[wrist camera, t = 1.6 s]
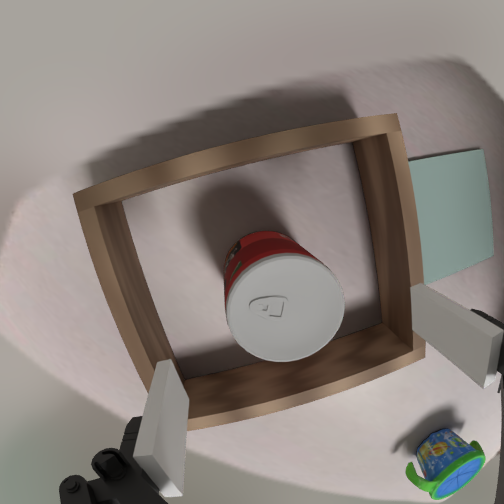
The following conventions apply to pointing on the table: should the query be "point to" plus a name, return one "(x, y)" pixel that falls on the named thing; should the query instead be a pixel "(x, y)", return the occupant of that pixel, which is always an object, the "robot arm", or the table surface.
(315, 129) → the frame
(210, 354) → the table surface
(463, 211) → the mat
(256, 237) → the canned food
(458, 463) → the snack cup
